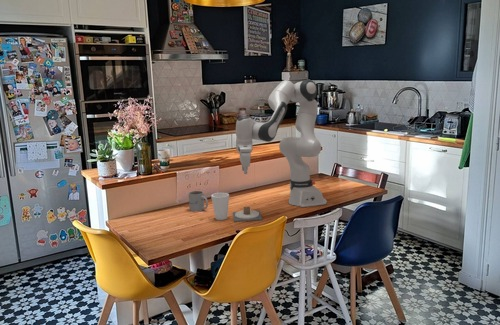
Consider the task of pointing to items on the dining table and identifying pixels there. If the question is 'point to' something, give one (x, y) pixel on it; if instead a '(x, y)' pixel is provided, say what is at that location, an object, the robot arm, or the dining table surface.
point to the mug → (197, 201)
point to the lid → (246, 213)
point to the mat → (247, 219)
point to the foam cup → (220, 205)
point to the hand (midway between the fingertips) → (244, 172)
